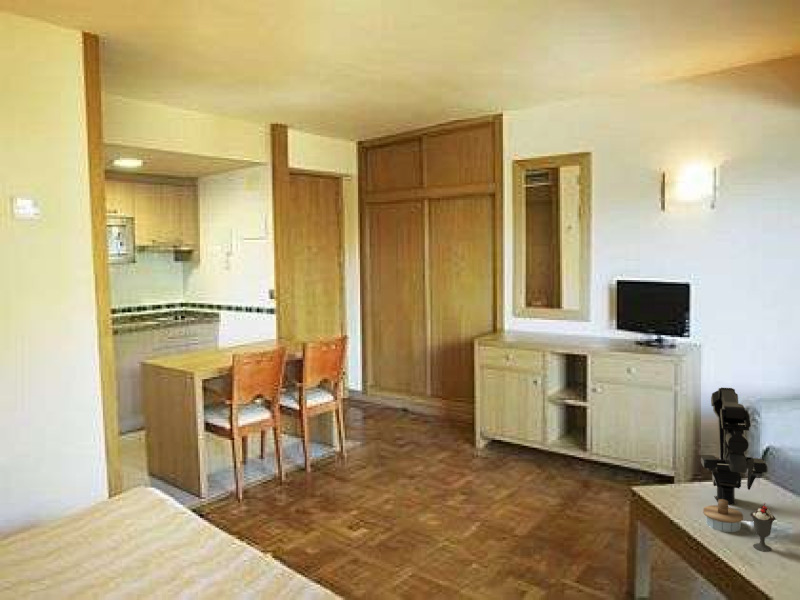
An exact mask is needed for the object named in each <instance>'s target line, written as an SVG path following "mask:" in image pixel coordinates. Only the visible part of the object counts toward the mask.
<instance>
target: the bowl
mask: <svg viewBox="0 0 800 600" xmlns="http://www.w3.org/2000/svg"><path fill="white" fill-rule="evenodd" d="M704 516H705V523H706V525H707V526H708V527H709V528H710V529H714V530H716V531H720V532H723V533H724V532H725V533H735V532H738V531H740V530H741V527H742V525H741V523H742V521H740V522H737V523H726V522H720V521H716V520H713V519H711V518H709V517H707V516H706V515H705V514H704Z"/></svg>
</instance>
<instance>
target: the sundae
mask: <svg viewBox="0 0 800 600" xmlns="http://www.w3.org/2000/svg"><path fill="white" fill-rule="evenodd" d="M756 510H757V511H754V512H751V513H750V516H751V517H752V518H753V521H754V522H753V521H752V522H753V527H754V528H753V529H754V532H755V534H756V535H757V536H759V543H754V544H753V545H752V547H753V548H754V549H755V550H757V551H761V552H764V553H765V552H766V553H768V552H771V551H773V549H772V547H771V546H770V545H767V544H766V539H765V538H767V537H769V536H771V531H772V525H773V522H774V521H775V520H776V517H775V516H774V515H773V513H771V511H770V510H769V508H768V507H767V506H766V502H764V504H763V505H761V506H759V507H758V508H757V509H756Z"/></svg>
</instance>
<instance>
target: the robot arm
mask: <svg viewBox="0 0 800 600" xmlns="http://www.w3.org/2000/svg"><path fill="white" fill-rule="evenodd" d="M710 405H711V407H712V408H713V413H714V414H715V415H716V418H717V421H718V423H717V424H718V425H717V426H718V448H719V449H718V451H719V453H718V455H719V456H718V457H719V458H718V459H717V458H716V456H715V455H708V454H706V455H705V454H703V455H701V456H700V463H701V465H702V468H705V469H707V471H710V472H711V473H712V474H711V479H712V485H713V487H716V495H714V496H713V497H714V499H715V501H716V502H717V503H718V500H719V499H724V500H727V501H728V505H738V502H737V500H736V499H735V496H736V494H735V493H736V492H735V490H736V489H741V488H742V479H743V476H742V475H741V473H743V474H746V473H747V481H746V483H747V484H746V485H747V490H748V491H750V490H751V488H752V486H753V484H754V481H755V480H756V478H757V477H758V476H759V475H763V473H768V464H767V463H766V462H765V460H764V459H763V458H758V457H757V458H755V457H752V456H746V455H745V452H746V451H747V450H748V449H749V446H750V445H749V441H748V439H747V437H746V436H745V431H747V432H748V431H750V428H751V420H750V419H751V417H750V413H749V412H748V410H747V409H746V407H745V406H744V405H743V404H741V403H739V396H738V393H736V389H735V388H733V387H718V390H716V391H714V392H712V393H711V399H710Z"/></svg>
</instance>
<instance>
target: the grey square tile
mask: <svg viewBox="0 0 800 600" xmlns="http://www.w3.org/2000/svg"><path fill="white" fill-rule="evenodd" d="M732 508H733V509H735V510H738V511H739V512H741V513H742V514H743V520H742V521H741V522H744V521H745V522H753V518H752V517H751V516H750V513H751V512H754V511H757V510H758V509H747V508H736V507H735V508H734V507H732Z"/></svg>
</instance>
